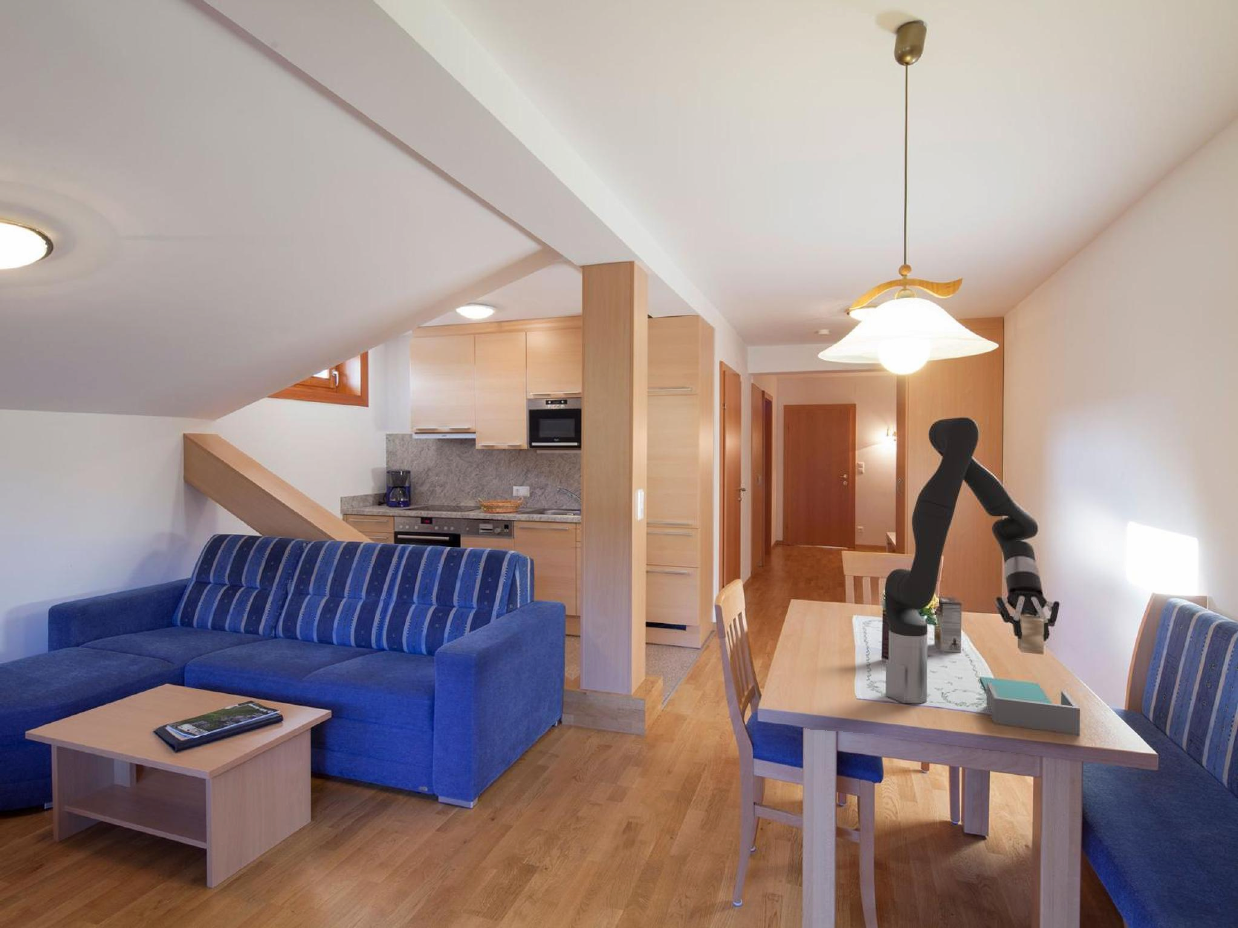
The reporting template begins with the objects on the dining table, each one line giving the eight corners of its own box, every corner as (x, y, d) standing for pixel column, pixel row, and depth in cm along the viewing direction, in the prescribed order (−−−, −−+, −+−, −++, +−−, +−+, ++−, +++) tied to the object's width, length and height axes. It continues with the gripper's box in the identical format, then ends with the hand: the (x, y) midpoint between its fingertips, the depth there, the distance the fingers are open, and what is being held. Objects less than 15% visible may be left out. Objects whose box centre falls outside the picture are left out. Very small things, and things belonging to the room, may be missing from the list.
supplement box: (891, 664, 199) (891, 612, 199) (880, 659, 204) (881, 608, 204) (915, 662, 201) (915, 610, 201) (904, 657, 206) (904, 607, 206)
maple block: (1021, 652, 157) (1021, 618, 157) (1017, 647, 161) (1018, 614, 161) (1043, 654, 155) (1043, 620, 155) (1039, 649, 159) (1039, 616, 159)
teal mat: (990, 700, 170) (990, 698, 170) (980, 678, 187) (980, 676, 187) (1053, 708, 165) (1053, 705, 165) (1037, 685, 182) (1037, 682, 182)
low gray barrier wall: (994, 723, 155) (994, 698, 155) (986, 705, 166) (986, 682, 166) (1079, 734, 149) (1080, 708, 149) (1065, 715, 160) (1065, 690, 160)
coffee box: (933, 643, 222) (933, 596, 222) (953, 644, 221) (954, 597, 220) (940, 651, 213) (941, 602, 213) (962, 652, 212) (962, 603, 211)
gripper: (992, 568, 167) (1000, 626, 156) (1058, 571, 162) (1071, 632, 151) (989, 585, 172) (996, 643, 161) (1052, 589, 167) (1064, 649, 156)
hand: (1032, 637), depth 156 cm, fingers closed on maple block, 4 cm apart
